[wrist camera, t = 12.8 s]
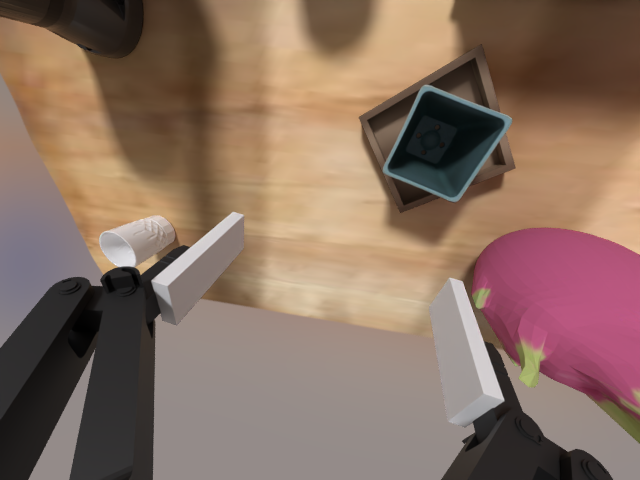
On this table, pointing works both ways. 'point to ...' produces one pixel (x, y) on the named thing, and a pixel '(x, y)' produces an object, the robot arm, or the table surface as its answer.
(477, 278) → the pink dragon fruit
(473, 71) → the walnut tray
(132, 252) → the white cup
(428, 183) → the flower pot
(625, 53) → the table surface
